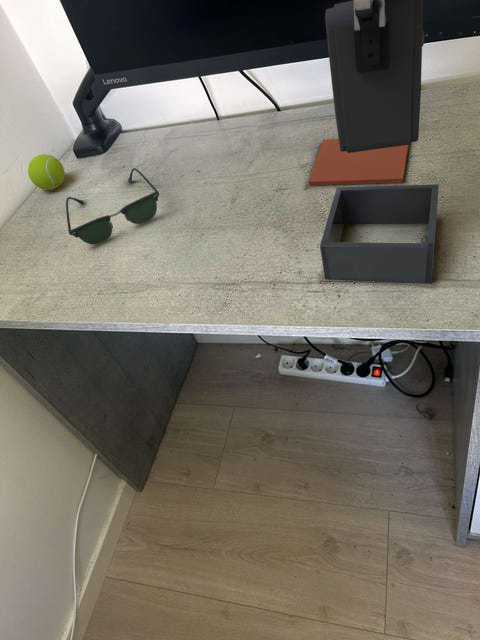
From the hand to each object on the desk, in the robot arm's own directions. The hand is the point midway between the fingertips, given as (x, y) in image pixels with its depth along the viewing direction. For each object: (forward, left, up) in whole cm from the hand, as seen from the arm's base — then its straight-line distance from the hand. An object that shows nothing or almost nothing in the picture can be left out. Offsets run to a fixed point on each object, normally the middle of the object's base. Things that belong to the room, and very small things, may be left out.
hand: (376, 56), depth 50 cm
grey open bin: (0, +1, -25) cm, 25 cm away
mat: (+6, -21, -25) cm, 33 cm away
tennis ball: (+69, -17, -26) cm, 75 cm away
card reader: (0, 0, -10) cm, 10 cm away
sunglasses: (+49, -8, -26) cm, 56 cm away
